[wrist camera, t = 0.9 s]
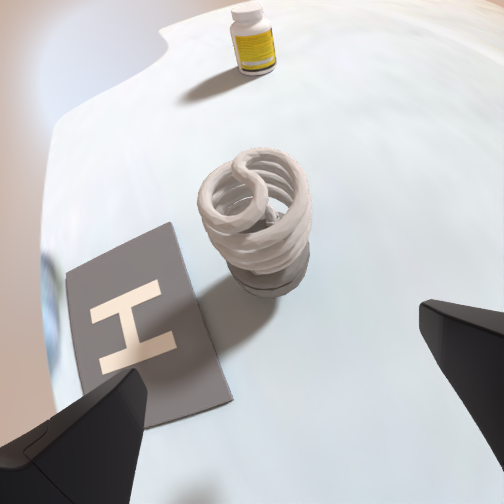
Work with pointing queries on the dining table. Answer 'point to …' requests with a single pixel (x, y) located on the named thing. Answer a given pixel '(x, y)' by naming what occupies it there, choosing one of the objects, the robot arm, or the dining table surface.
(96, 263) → the board
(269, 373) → the dining table surface
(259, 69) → the supplement bottle
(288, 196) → the light bulb
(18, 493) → the robot arm
